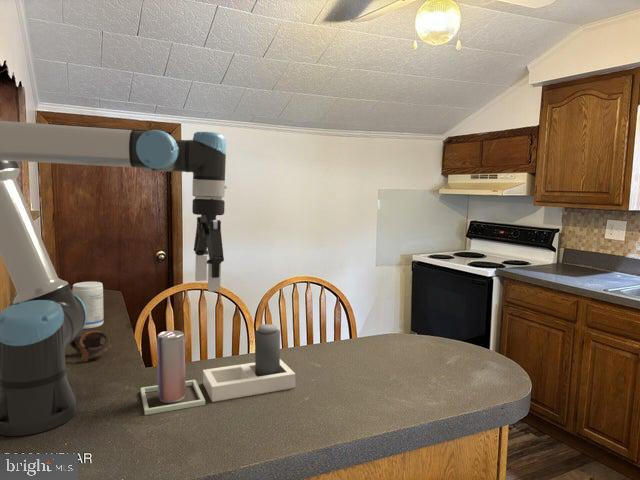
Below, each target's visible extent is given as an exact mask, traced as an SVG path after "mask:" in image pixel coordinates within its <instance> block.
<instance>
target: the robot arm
mask: <svg viewBox="0 0 640 480" xmlns="http://www.w3.org/2000/svg"><path fill="white" fill-rule="evenodd" d="M225 137H226V136H224V135H223V134H221V133H219V132H213V131H196V132H194V133H193V137H192V139H186V140H185V139H175V138H174V137H173V136H172V135H171V134H169V133H168V132H166V131H164V130H159V129H151V130H132V129H122V128H121V129H119V128H108V127H96V126H95V127H93V126H92V127H91V126H80V125H79V126H78V125H66V124H65V125H64V124H51V123H40V122H39V123H37V122H36V123H35V122H24V121H21V122H20V121H11V120H10V121H9V120H8V121H6V120H0V257H1V260H2V261H3V263H4V266H5V268H6V270H7V273H8V275H9V277H10V279H11V280H10V281H11V282H12V284H13V286H14V289H15V291H16V295H15V297H14V299H13V301H12V305H10V306H7V307H5V308H4V309H3V310H1V311H0V436H5V437H20V436H21V437H22V436H30V435H34V434H38V433H39V434H40V433H44V432H46V431H49V430H53V429H54V428H57V427H60V426H61V425H62V426H63V424H65V423H66V422H68V421H70V420H71V419H72V418H74V416H75V415H76V413H77V399H76V396H75V394H74V391H73V390H72V388H71V386H70V383H69V380H68V378H67V375H66V354H65V353H66V351H65V350H66V348H67V347H68V346H69V345H70V343H71V342H72V341H73V340H74V339H76V338H77V337H78V336H80V334H82V331H83V330H84V329H83V328H84V326H85V323H86V319H87V311H86V307H85V305H84V303H83V302H82V300H81V299H80V298H79V297H77V296H76V295H74V294H73V293H72V289H71V285H70V284H69V282H68V281H66V280H63V279H61V278H59V277H58V274H57V272H56V270H55V267H54V265H53V263H52V261H51V260H52V259H51V258H50V256H49V253H48V251H47V248H46V246H45V243H44V242H43V239H42V236H41V235H40V232H39V230H38V228H37V226H36V222H35V220H34V218H33V216H32V214H31V213H32V212H31V211H30V209H29V206H28V205H27V201H26V199H25V197H24V195H23V193H22V190H21V188H20V186H19V183H18V181H17V179H18V177H19V174H20V172H21V169H20V166H19V164H18V162H23V163H24V162H25V163H26V162H28V163H47V164H67V165H82V166H83V165H84V166H85V165H86V166H101V167H103V166H104V167H123V168H124V167H125V168H136V169H138V168H140V169H142V170H144V171H151V172H177V173H178V172H179V173H192V194H191V195H192V196H193V197H194V198H193V199H192V210H191V211H192V212H191V213H192V214H193V215H197V217H196V229H195V239H194V244H193V245H194V246H193V251H194V254H195V271H194V272H195V274H194V275H195V277H194V278H195V282H200V281H201V282H204V281H207V292H210V293H211V292H212V293H213V292H221V276H222V275H221V273H222V272H221V270H222V266H221V265H222V263H223V262H224V261H225V258H224V248H223V239H222V238H223V237H222V228H221V225H222V224H221V223H222V221H221V220H220V219H217V216H223V215H225V205H226V202H225V201H224V199H223V198H225V193H226V191H225V190H226V189H228V186H227V185H226V161H227V160H226V157H227V150H226V145H227V143H226V138H225ZM207 267H208V268H207Z"/></svg>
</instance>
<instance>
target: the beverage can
mask: <svg viewBox="0 0 640 480" xmlns="http://www.w3.org/2000/svg"><path fill="white" fill-rule="evenodd" d="M184 334H185V332H183V331H182V330H181V331H180V330H166V331H162V332H160V333H158V334H157V338H156V339H157V340H156V345H157V346H156V350H157V351H156V353H157V356H156V359H157V363H156V364H157V385H158V391H157V395H158V396H157V398H158V399H159V401H160V402H162V403H164V404H176V403H179V402H180V401H183V400H184V398H185V397H186V395H187V393H186V391H187V390H186V389H187V386H186V384H185V381H186V341H185V340H186V338H185V335H184Z"/></svg>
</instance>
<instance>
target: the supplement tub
mask: <svg viewBox="0 0 640 480" xmlns="http://www.w3.org/2000/svg"><path fill="white" fill-rule="evenodd" d="M71 290H72V293H73V294H74V295H76V296H77V297H79V298H80V299H81V300H82V302H83V303H84V305H85V307H86V311H87V319H86V323H85V326H84V328H83V330H84V329H86V330H87V329H95V328H98V327H101V326H102V325H103V324H104V320H105V319H104V285H103V283H102V282H100V281H82V282H76V283H74V284H73V285H72V289H71Z"/></svg>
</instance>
